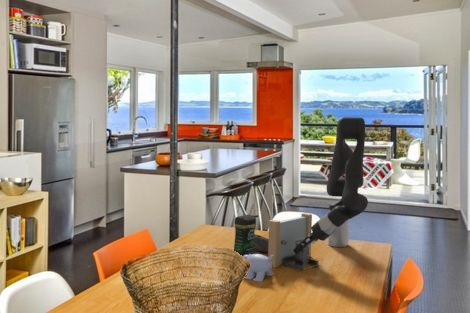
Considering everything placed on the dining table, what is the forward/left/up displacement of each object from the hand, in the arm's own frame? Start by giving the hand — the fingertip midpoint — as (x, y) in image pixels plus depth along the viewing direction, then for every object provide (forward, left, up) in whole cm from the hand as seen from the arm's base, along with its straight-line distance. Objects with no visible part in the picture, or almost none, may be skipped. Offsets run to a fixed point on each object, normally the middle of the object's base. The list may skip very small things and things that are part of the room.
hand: (298, 249), depth 194 cm
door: (-2, -6, -6) cm, 9 cm away
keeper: (0, +1, -6) cm, 7 cm away
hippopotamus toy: (+23, -3, -7) cm, 24 cm away
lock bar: (0, +1, -6) cm, 6 cm away
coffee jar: (+9, -23, -7) cm, 26 cm away
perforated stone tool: (-3, -23, -7) cm, 24 cm away
